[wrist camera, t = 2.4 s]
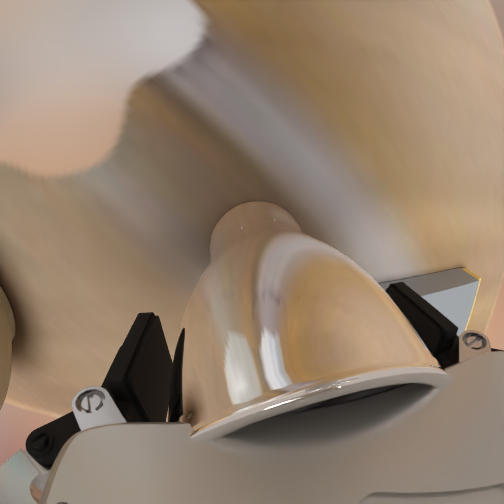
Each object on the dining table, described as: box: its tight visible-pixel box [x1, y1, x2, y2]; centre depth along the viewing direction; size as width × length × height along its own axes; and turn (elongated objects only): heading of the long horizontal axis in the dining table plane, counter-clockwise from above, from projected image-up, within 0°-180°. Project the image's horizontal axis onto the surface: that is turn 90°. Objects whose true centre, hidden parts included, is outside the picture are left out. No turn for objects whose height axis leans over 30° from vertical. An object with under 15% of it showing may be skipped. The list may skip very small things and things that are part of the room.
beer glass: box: [168, 201, 453, 441], centre depth 11 cm, size 7×7×15 cm
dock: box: [378, 268, 481, 336], centre depth 22 cm, size 17×15×3 cm
